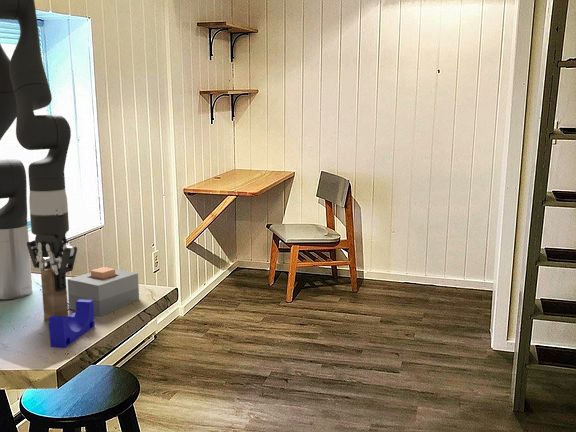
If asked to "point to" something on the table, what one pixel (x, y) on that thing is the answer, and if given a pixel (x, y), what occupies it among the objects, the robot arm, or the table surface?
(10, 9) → the robot arm
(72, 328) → the blue bent block
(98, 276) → the button
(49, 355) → the table surface
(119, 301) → the box
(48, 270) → the brown wooden plank
